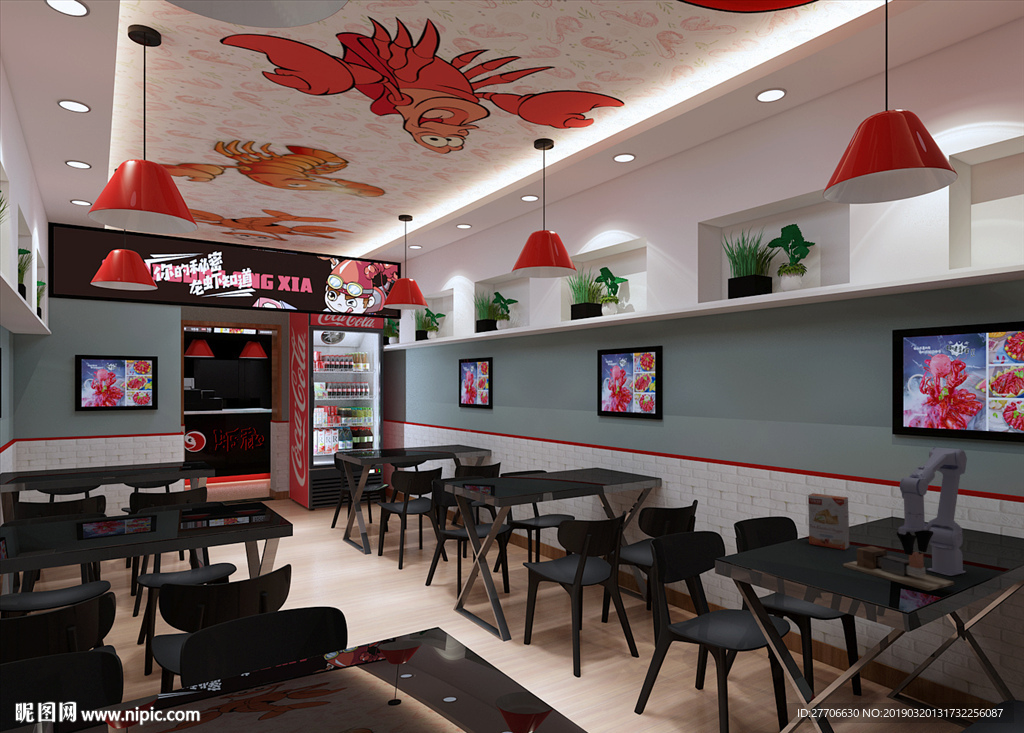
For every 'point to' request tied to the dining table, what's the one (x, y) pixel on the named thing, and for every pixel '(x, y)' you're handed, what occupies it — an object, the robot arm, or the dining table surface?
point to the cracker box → (828, 521)
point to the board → (904, 578)
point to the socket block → (869, 556)
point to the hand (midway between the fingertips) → (915, 553)
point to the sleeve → (894, 565)
